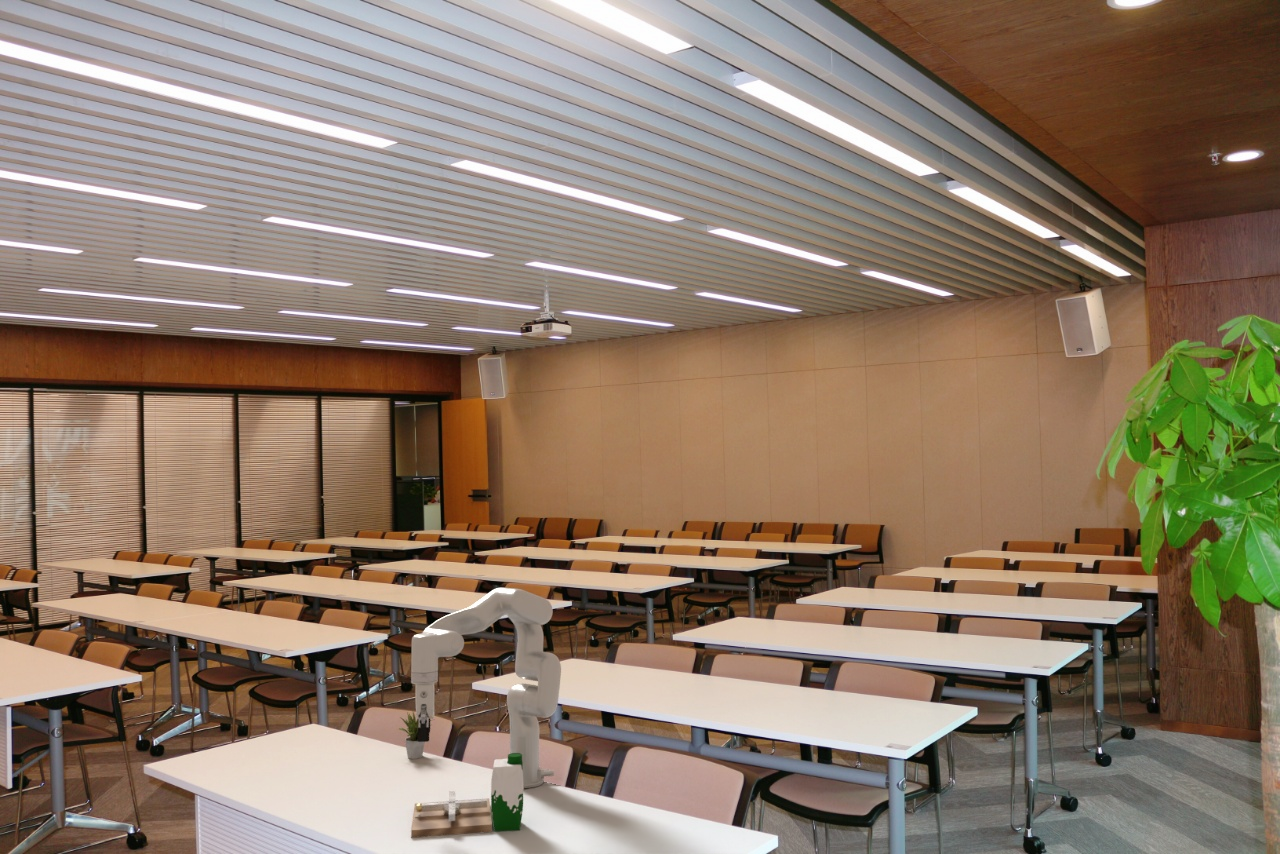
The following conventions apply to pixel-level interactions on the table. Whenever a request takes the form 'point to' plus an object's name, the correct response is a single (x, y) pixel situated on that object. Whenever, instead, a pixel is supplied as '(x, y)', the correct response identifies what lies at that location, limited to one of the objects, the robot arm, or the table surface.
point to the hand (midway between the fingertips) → (424, 736)
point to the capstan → (451, 806)
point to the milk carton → (507, 793)
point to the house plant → (413, 738)
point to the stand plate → (451, 822)
